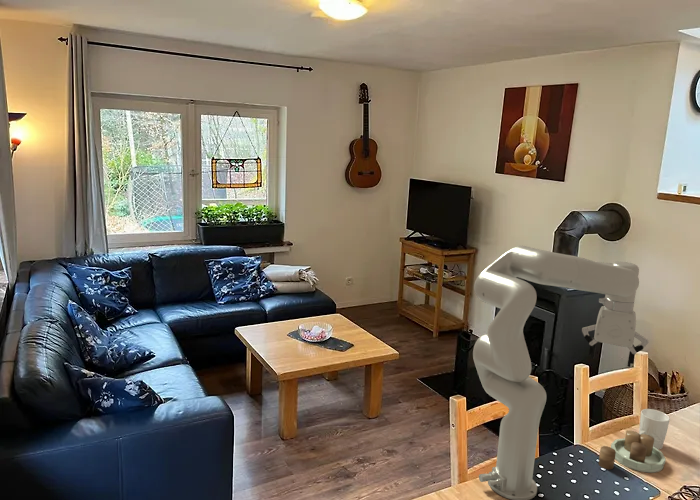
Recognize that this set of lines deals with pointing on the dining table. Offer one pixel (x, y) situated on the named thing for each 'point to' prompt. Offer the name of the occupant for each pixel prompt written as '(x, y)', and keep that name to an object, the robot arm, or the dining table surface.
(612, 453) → the bead
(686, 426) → the dining table surface
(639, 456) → the bead
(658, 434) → the white cup
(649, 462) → the tray
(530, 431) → the robot arm
